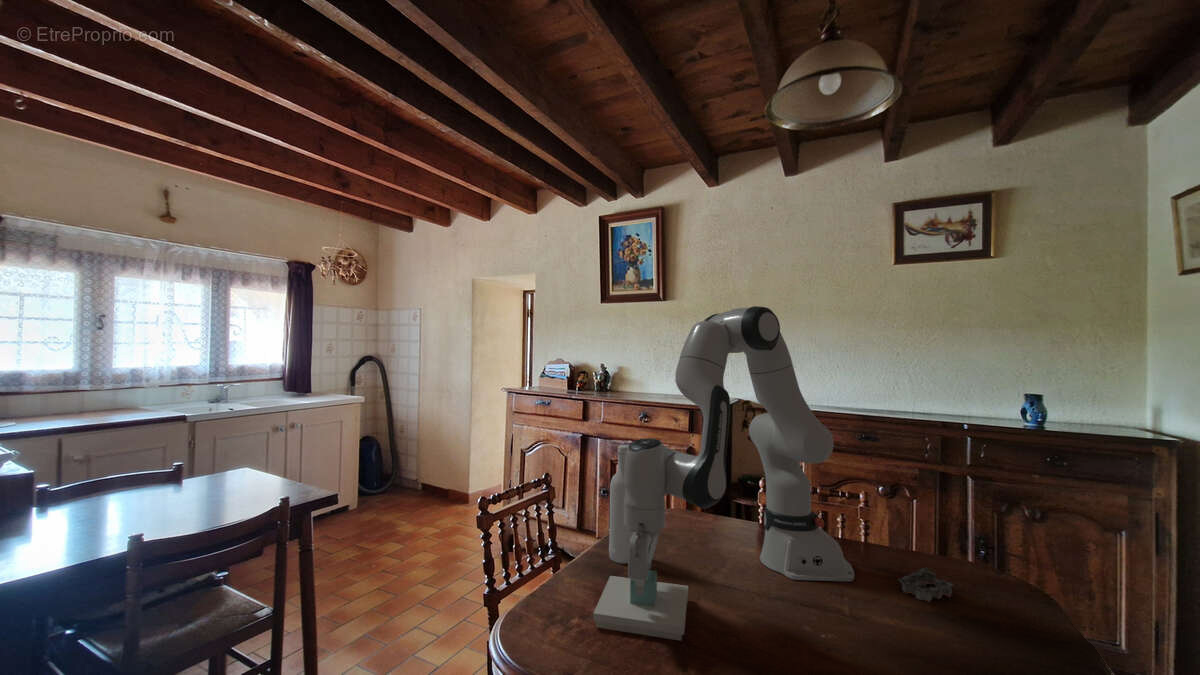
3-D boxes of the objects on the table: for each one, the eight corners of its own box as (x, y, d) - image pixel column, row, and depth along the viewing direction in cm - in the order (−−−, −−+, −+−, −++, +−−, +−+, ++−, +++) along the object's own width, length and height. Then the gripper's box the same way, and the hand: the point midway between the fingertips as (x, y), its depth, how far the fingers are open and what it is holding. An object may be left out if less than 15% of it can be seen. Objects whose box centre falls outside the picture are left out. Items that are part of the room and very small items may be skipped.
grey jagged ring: (927, 583, 113) (927, 566, 114) (959, 598, 106) (958, 580, 106) (894, 588, 110) (894, 571, 110) (924, 605, 103) (924, 586, 103)
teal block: (656, 594, 100) (656, 570, 100) (653, 606, 95) (654, 582, 96) (634, 591, 101) (634, 568, 102) (630, 603, 97) (630, 579, 97)
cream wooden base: (688, 599, 104) (688, 585, 104) (684, 642, 88) (684, 626, 88) (610, 588, 108) (610, 575, 108) (593, 628, 93) (593, 613, 93)
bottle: (644, 557, 125) (645, 446, 126) (626, 567, 119) (627, 450, 120) (621, 548, 130) (622, 441, 131) (602, 557, 124) (604, 445, 125)
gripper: (653, 536, 88) (652, 610, 88) (663, 502, 108) (663, 562, 108) (620, 533, 90) (619, 605, 89) (637, 500, 109) (636, 559, 109)
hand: (643, 581), depth 98 cm, fingers open, 8 cm apart
